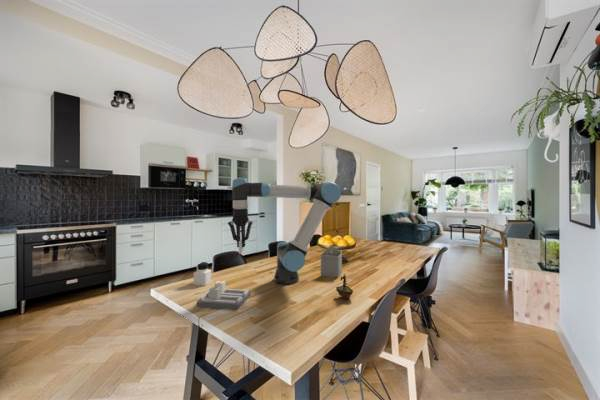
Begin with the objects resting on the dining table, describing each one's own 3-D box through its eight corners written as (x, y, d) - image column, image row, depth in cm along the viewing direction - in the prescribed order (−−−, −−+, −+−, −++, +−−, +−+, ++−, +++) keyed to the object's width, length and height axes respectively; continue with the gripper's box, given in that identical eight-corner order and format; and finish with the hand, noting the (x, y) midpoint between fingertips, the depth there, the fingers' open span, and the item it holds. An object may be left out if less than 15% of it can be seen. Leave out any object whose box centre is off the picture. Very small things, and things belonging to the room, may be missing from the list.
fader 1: (220, 297, 114) (221, 286, 114) (217, 300, 110) (217, 289, 110) (213, 296, 114) (213, 286, 114) (209, 300, 110) (209, 288, 110)
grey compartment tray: (250, 295, 122) (250, 288, 122) (238, 309, 106) (238, 302, 106) (213, 292, 125) (213, 286, 125) (196, 306, 109) (196, 299, 109)
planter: (327, 279, 147) (327, 248, 147) (320, 275, 154) (320, 245, 154) (348, 276, 154) (348, 246, 154) (341, 272, 161) (341, 243, 161)
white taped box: (225, 290, 122) (225, 280, 122) (222, 293, 118) (222, 283, 118) (218, 290, 122) (218, 280, 122) (214, 293, 119) (214, 282, 119)
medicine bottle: (211, 281, 141) (211, 261, 141) (205, 285, 134) (205, 264, 134) (199, 281, 142) (199, 260, 142) (193, 285, 135) (193, 264, 135)
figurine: (356, 301, 116) (356, 276, 116) (341, 303, 114) (342, 278, 114) (346, 293, 126) (347, 270, 126) (333, 295, 123) (333, 271, 123)
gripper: (254, 207, 128) (255, 251, 128) (230, 208, 129) (231, 251, 129) (250, 208, 120) (251, 255, 121) (225, 209, 121) (226, 255, 122)
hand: (241, 253), depth 125 cm, fingers closed
